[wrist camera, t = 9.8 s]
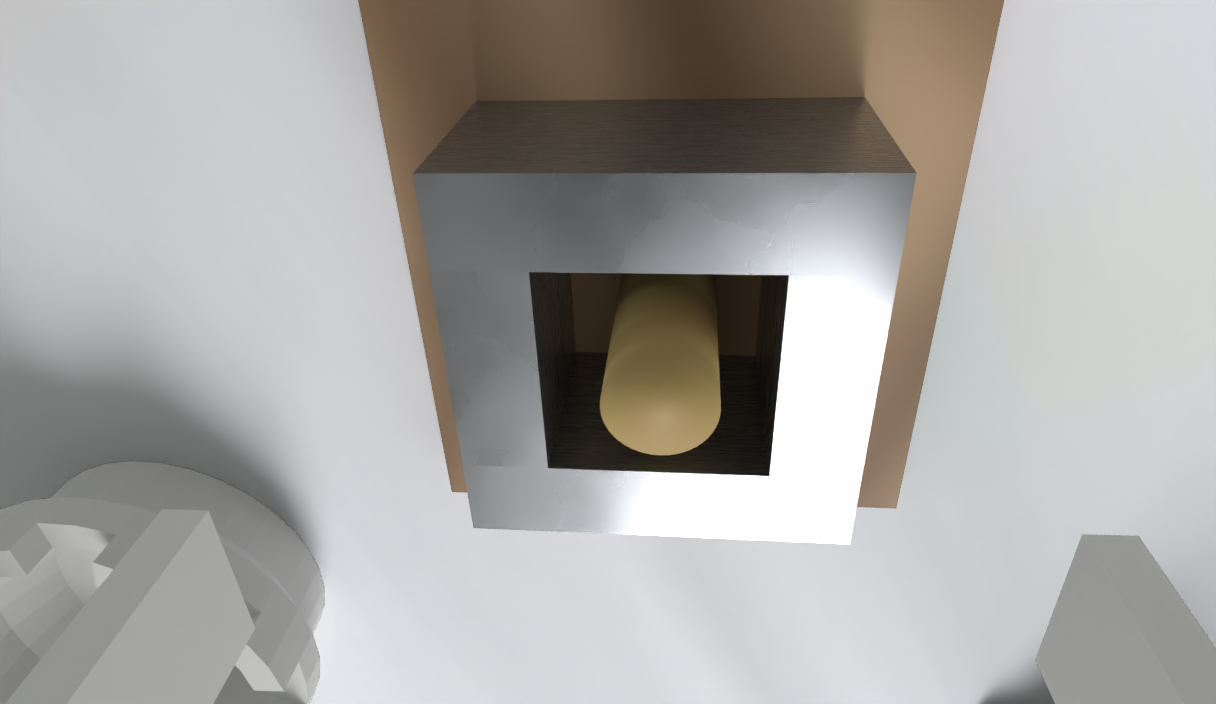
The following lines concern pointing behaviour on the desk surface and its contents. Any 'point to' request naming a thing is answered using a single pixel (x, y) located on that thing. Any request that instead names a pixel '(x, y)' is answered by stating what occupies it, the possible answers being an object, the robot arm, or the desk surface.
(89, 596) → the flag stand
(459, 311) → the grey hollow square block
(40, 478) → the desk surface
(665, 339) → the wooden peg stand
